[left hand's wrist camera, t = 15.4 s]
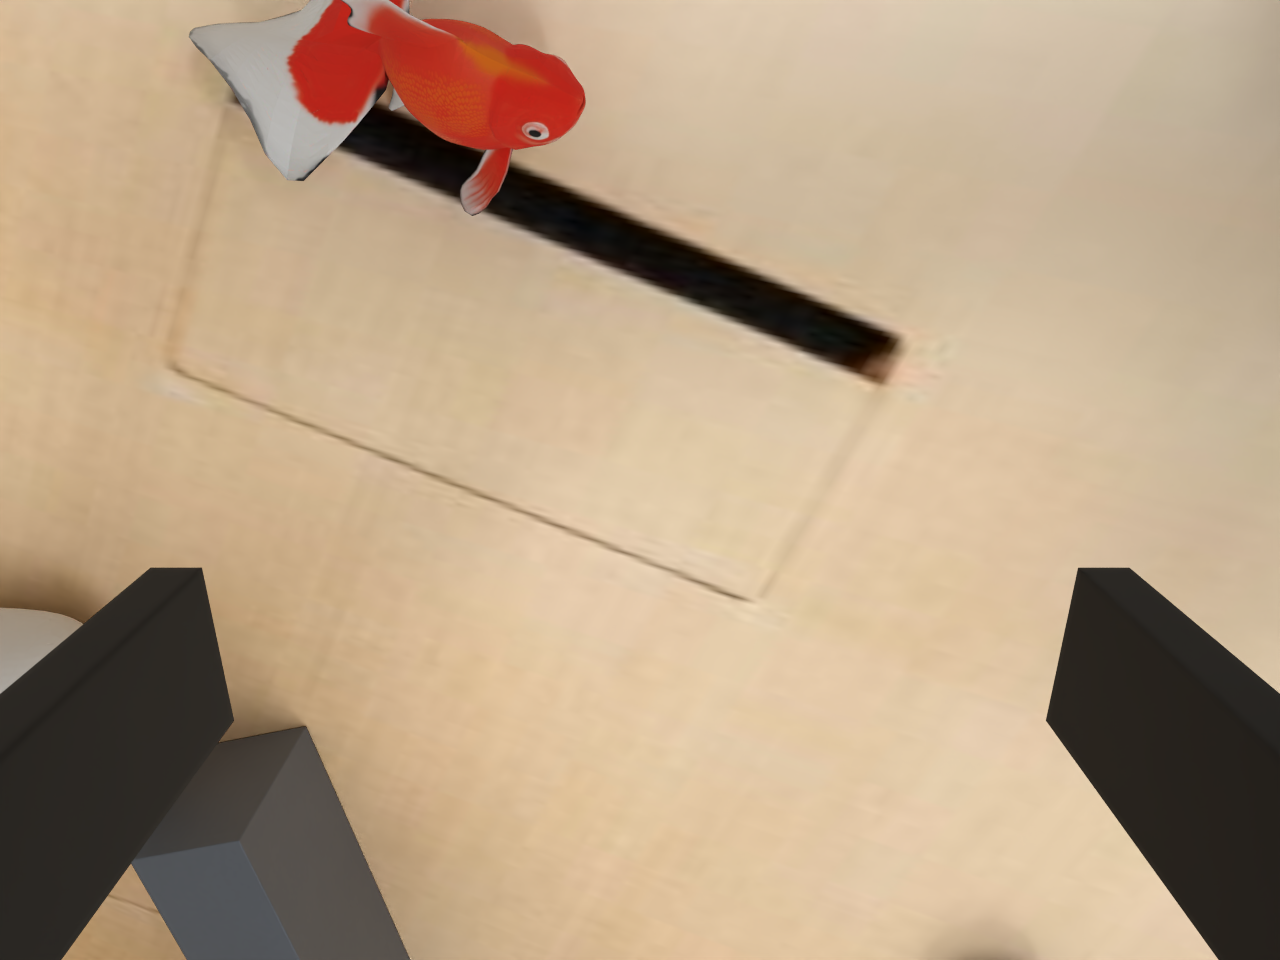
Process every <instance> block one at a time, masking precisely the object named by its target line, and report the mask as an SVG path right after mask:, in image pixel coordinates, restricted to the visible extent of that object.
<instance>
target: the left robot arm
mask: <svg viewBox="0 0 1280 960" xmlns="http://www.w3.org/2000/svg"><path fill="white" fill-rule="evenodd" d="M233 721H234V718H233V714H232V709H231V704H230V699H229V695H228V690H227V685H226V680H225V676H224V671H223V666H222V661H221V657H220V652H219V647H218V642H217V638H216V633H215V628H214V623H213V619H212V614H211V609H210V604H209V600H208V595H207V590H206V585H205V581H204V576H203V571H202V568H150V569H149V570H147V571H146V572H145V573H144V574H143V575H141V576H140V577H139V578H138V579H137V580H136V581H134V582H133V583H132V584H131V585H130V586H128V587H127V588H126V589H125V590H124V591H122V592H121V593H120V594H119V595H118V596H116V597H115V598H114V599H113V600H112V601H110V602H109V603H108V604H107V605H106V606H104V607H103V608H102V609H101V610H100V611H99V612H97V613H96V614H95V615H94V616H93V617H91V618H90V619H89V620H88V621H87V622H85V623H84V624H83V625H82V626H81V627H79V628H78V629H77V630H76V631H75V632H73V633H72V634H71V635H70V636H69V637H67V638H66V639H65V640H64V641H63V642H61V643H60V644H59V645H58V646H57V647H56V648H54V649H53V650H52V651H51V652H50V653H48V654H47V655H46V656H45V657H44V658H42V659H41V660H40V661H39V662H38V663H36V664H35V665H34V666H33V667H32V668H30V669H29V670H28V671H27V672H26V673H24V674H23V675H22V676H21V677H20V678H19V679H17V680H16V681H15V682H14V683H13V684H11V685H10V686H9V687H8V688H7V689H5V690H4V691H3V692H2V693H1V694H0V960H62V958H63V957H64V955H65V954H66V953H67V951H68V950H69V948H70V947H71V946H72V944H73V943H74V942H75V940H76V939H77V937H78V936H79V935H80V933H81V932H82V930H83V929H84V928H85V926H86V925H87V923H88V922H89V921H90V919H91V918H92V917H93V915H94V914H95V912H96V911H97V910H98V908H99V907H100V905H101V904H102V903H103V901H104V900H105V899H106V897H107V896H108V894H109V893H110V892H111V890H112V889H113V887H114V886H115V885H116V883H117V882H118V881H119V879H120V878H121V876H122V875H123V874H124V872H125V871H126V869H127V868H128V867H129V865H130V864H131V863H132V861H133V860H134V858H135V857H136V856H137V854H138V853H139V851H140V850H141V849H142V847H143V846H144V845H145V843H146V842H147V840H148V839H149V838H150V836H151V835H152V833H153V832H154V831H155V829H156V828H157V826H158V825H159V824H160V822H161V821H162V820H163V818H164V817H165V815H166V814H167V813H168V811H169V810H170V808H171V807H172V806H173V804H174V803H175V802H176V800H177V799H178V797H179V796H180V795H181V793H182V792H183V790H184V789H185V788H186V786H187V785H188V784H189V782H190V781H191V779H192V778H193V777H194V775H195V774H196V772H197V771H198V770H199V768H200V767H201V766H202V764H203V763H204V761H205V760H206V759H207V757H208V756H209V754H210V753H211V752H212V750H213V749H214V747H215V746H216V745H217V743H218V742H219V741H220V739H221V738H222V736H223V735H224V734H225V732H226V731H227V729H228V728H229V727H230V725H231V724H232V723H233ZM1046 721H1047V723H1048V724H1049V725H1050V727H1051V728H1052V729H1053V731H1054V732H1055V734H1056V735H1057V736H1058V738H1059V739H1060V741H1061V742H1062V743H1063V745H1064V746H1065V748H1066V749H1067V750H1068V752H1069V753H1070V754H1071V756H1072V757H1073V759H1074V760H1075V761H1076V763H1077V764H1078V766H1079V767H1080V768H1081V770H1082V771H1083V772H1084V774H1085V775H1086V777H1087V778H1088V779H1089V781H1090V782H1091V784H1092V785H1093V786H1094V788H1095V789H1096V790H1097V792H1098V793H1099V795H1100V796H1101V797H1102V799H1103V800H1104V802H1105V803H1106V804H1107V806H1108V807H1109V808H1110V810H1111V811H1112V813H1113V814H1114V815H1115V817H1116V818H1117V820H1118V821H1119V822H1120V824H1121V825H1122V826H1123V828H1124V829H1125V831H1126V832H1127V833H1128V835H1129V836H1130V838H1131V839H1132V840H1133V842H1134V843H1135V845H1136V846H1137V847H1138V849H1139V850H1140V851H1141V853H1142V854H1143V856H1144V857H1145V858H1146V860H1147V861H1148V863H1149V864H1150V865H1151V867H1152V868H1153V869H1154V871H1155V872H1156V874H1157V875H1158V876H1159V878H1160V879H1161V881H1162V882H1163V883H1164V885H1165V886H1166V887H1167V889H1168V890H1169V892H1170V893H1171V894H1172V896H1173V897H1174V899H1175V900H1176V901H1177V903H1178V904H1179V905H1180V907H1181V908H1182V910H1183V911H1184V912H1185V914H1186V915H1187V917H1188V918H1189V919H1190V921H1191V922H1192V923H1193V925H1194V926H1195V928H1196V929H1197V930H1198V932H1199V933H1200V935H1201V936H1202V937H1203V939H1204V940H1205V942H1206V943H1207V944H1208V946H1209V947H1210V948H1211V950H1212V951H1213V953H1214V954H1215V955H1216V957H1217V958H1218V960H1280V694H1279V693H1278V692H1277V691H1276V690H1275V689H1273V688H1272V687H1271V686H1270V685H1269V684H1267V683H1266V682H1265V681H1264V680H1263V679H1261V678H1260V677H1259V676H1258V675H1257V674H1256V673H1254V672H1253V671H1252V670H1251V669H1250V668H1248V667H1247V666H1246V665H1245V664H1244V663H1242V662H1241V661H1240V660H1239V659H1238V658H1236V657H1235V656H1234V655H1233V654H1232V653H1230V652H1229V651H1228V650H1227V649H1226V648H1224V647H1223V646H1222V645H1221V644H1220V643H1219V642H1217V641H1216V640H1215V639H1214V638H1213V637H1211V636H1210V635H1209V634H1208V633H1207V632H1205V631H1204V630H1203V629H1202V628H1201V627H1199V626H1198V625H1197V624H1196V623H1195V622H1193V621H1192V620H1191V619H1190V618H1189V617H1187V616H1186V615H1185V614H1184V613H1183V612H1181V611H1180V610H1179V609H1178V608H1177V607H1176V606H1174V605H1173V604H1172V603H1171V602H1170V601H1168V600H1167V599H1166V598H1165V597H1164V596H1162V595H1161V594H1160V593H1159V592H1158V591H1156V590H1155V589H1154V588H1153V587H1152V586H1150V585H1149V584H1148V583H1147V582H1146V581H1144V580H1143V579H1142V578H1141V577H1140V576H1139V575H1137V574H1136V573H1135V572H1134V571H1133V570H1131V569H1130V568H1078V571H1077V576H1076V581H1075V585H1074V590H1073V595H1072V600H1071V604H1070V609H1069V614H1068V619H1067V623H1066V628H1065V633H1064V638H1063V642H1062V647H1061V652H1060V657H1059V661H1058V666H1057V671H1056V676H1055V680H1054V685H1053V690H1052V695H1051V699H1050V704H1049V709H1048V714H1047V718H1046Z"/></svg>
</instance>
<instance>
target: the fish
mask: <svg viewBox="0 0 1280 960" xmlns="http://www.w3.org/2000/svg"><path fill="white" fill-rule="evenodd" d="M189 38H190V39H191V40H192V42H193V43H194V44H195V46H196V47H197V48H198V49H199V50H200V51H201V52H202V53H203V54H204V55H205V56H206V57H207V58H208V59H209V60H210V61H211V62H212V64H213V65H214V66H215V68H216V69H217V70H218V71H219V73H220V74H221V75H222V77H223V78H224V79H225V81H226V82H227V83H228V84H229V86H230V87H231V89H232V90H233V92H234V94H235V95H236V97H237V99H238V100H239V102H240V104H241V105H242V107H243V109H244V110H245V112H246V114H247V115H248V117H249V118H250V120H251V122H252V125H253V127H254V129H255V132H256V134H257V136H258V139H259V141H260V143H261V145H262V148H263V150H264V152H265V154H266V156H267V157H268V158H269V159H270V160H271V162H272V163H273V164H274V165H275V166H276V167H277V169H278V170H279V171H280V172H281V173H282V174H283V176H284V177H285V178H286V179H287V180H295V181H304V180H305V179H306V178H307V177H308V176H309V175H310V174H311V173H312V172H313V171H314V170H315V169H316V168H317V167H318V166H319V165H320V164H321V163H322V162H323V161H324V160H325V159H326V158H327V157H328V156H329V155H330V154H331V153H332V152H333V151H334V150H335V149H336V148H337V147H338V146H339V145H340V144H341V143H342V142H343V141H344V140H345V138H346V137H347V136H348V135H349V134H350V133H351V131H352V130H353V129H354V128H355V127H356V126H357V124H358V123H359V122H360V121H361V120H362V118H363V117H364V116H365V115H366V114H367V112H368V111H369V110H370V109H371V108H372V106H373V105H374V104H375V103H376V101H377V100H378V99H379V98H380V97H381V95H382V94H383V93H384V92H385V90H386V87H387V84H388V80H390V81H391V83H392V85H393V87H394V88H393V94H392V98H391V102H390V105H389V109H390V110H392V111H393V110H395V109H397V108H400V107H402V106H406V108H407V109H408V110H409V112H410V113H411V114H412V115H413V116H414V117H415V118H417V119H418V120H419V121H420V122H421V123H422V124H423V125H424V126H425V127H427V128H428V129H429V130H430V131H432V132H433V133H435V134H436V135H437V136H439V137H441V138H443V139H444V140H447V141H449V142H452V143H455V144H459V145H463V146H467V147H471V148H475V149H482V150H485V152H484V154H483V156H482V158H481V160H480V162H479V164H478V166H477V169H476V170H475V171H474V172H473V174H472V175H471V176H470V177H469V178H468V179H467V180H466V181H465V182H464V183H463V184H462V186H461V189H460V198H461V204H462V206H463V208H464V210H465V212H467V213H468V214H470V215H472V216H474V215H476V214H479V213H480V212H481V211H482V210H484V209H485V208H486V207H487V206H488V204H489V202H490V201H491V199H492V198H493V197H494V196H495V195H496V194H497V193H498V192H499V190H500V188H501V185H502V183H503V181H504V179H505V176H506V174H507V171H508V167H509V163H510V159H511V154H512V150H513V149H515V150H517V149H522V148H528V147H533V146H541V145H546V144H549V143H551V142H554V141H557V140H558V139H559V138H561V137H562V136H563V135H564V134H566V133H567V132H568V131H570V130H571V129H572V128H573V127H574V125H575V124H576V123H577V121H578V119H579V117H580V115H581V114H582V112H583V110H584V107H585V93H584V90H583V88H582V86H581V85H580V83H579V82H578V81H577V79H576V78H575V76H574V75H573V73H572V72H571V70H570V68H569V67H568V65H567V64H566V62H565V61H564V60H563V59H561V58H560V57H558V56H555V55H550V54H545V53H542V52H540V51H538V50H536V49H534V48H532V47H530V46H526V45H522V44H517V45H512V44H510V43H509V42H507V41H506V40H504V39H503V38H501V37H499V36H498V35H496V34H494V33H493V32H491V31H489V30H488V29H486V28H483V27H481V26H478V25H475V24H472V23H468V22H463V21H458V20H450V19H424V20H420V19H418V18H416V17H414V16H412V15H410V14H409V0H310V1H309V2H308V4H307V5H306V6H305V7H304V8H303V9H302V10H300V11H297V12H294V13H291V14H288V15H285V16H282V17H278V18H274V19H270V20H267V21H263V22H250V23H224V24H214V25H208V26H203V27H197V28H194V29H193V30H192V31H191V32H190V34H189Z"/></svg>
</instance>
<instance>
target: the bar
mask: <svg viewBox="0 0 1280 960" xmlns="http://www.w3.org/2000/svg"><path fill="white" fill-rule="evenodd" d="M131 864H132V866H133V868H134V869H135V871H136V873H137V874H138V876H139V878H140V880H141V881H142V883H143V885H144V887H145V888H146V890H147V892H148V893H149V895H150V897H151V899H152V900H153V902H154V904H155V906H156V907H157V909H158V911H159V913H160V914H161V916H162V918H163V919H164V921H165V923H166V925H167V926H168V928H169V930H170V932H171V933H172V935H173V937H174V938H175V940H176V942H177V944H178V945H179V947H180V949H181V951H182V952H183V954H184V956H185V957H186V959H187V960H410V959H409V957H408V954H407V952H406V950H405V948H404V945H403V943H402V941H401V939H400V936H399V934H398V932H397V930H396V927H395V925H394V923H393V921H392V918H391V916H390V914H389V912H388V909H387V907H386V905H385V903H384V900H383V898H382V896H381V894H380V891H379V889H378V887H377V885H376V882H375V880H374V878H373V876H372V873H371V871H370V869H369V867H368V864H367V862H366V860H365V858H364V856H363V853H362V851H361V849H360V847H359V844H358V842H357V840H356V838H355V835H354V833H353V831H352V829H351V826H350V824H349V822H348V820H347V817H346V815H345V813H344V811H343V808H342V806H341V804H340V802H339V799H338V797H337V795H336V793H335V790H334V788H333V786H332V784H331V781H330V779H329V777H328V775H327V772H326V770H325V768H324V766H323V763H322V761H321V759H320V757H319V755H318V752H317V750H316V748H315V746H314V743H313V741H312V739H311V737H310V734H309V732H308V730H307V728H306V727H300V728H295V729H289V730H284V731H279V732H274V733H268V734H263V735H258V736H253V737H248V738H242V739H237V740H232V741H227V742H221V743H217V745H216V746H215V747H214V749H213V750H212V752H211V753H210V754H209V756H208V757H207V759H206V760H205V761H204V763H203V764H202V766H201V767H200V768H199V770H198V771H197V772H196V774H195V775H194V777H193V778H192V779H191V781H190V782H189V784H188V785H187V786H186V788H185V789H184V790H183V792H182V793H181V795H180V796H179V797H178V799H177V800H176V802H175V803H174V804H173V806H172V807H171V808H170V810H169V811H168V813H167V814H166V815H165V817H164V818H163V820H162V821H161V822H160V824H159V825H158V826H157V828H156V829H155V831H154V832H153V833H152V835H151V836H150V838H149V839H148V840H147V842H146V843H145V845H144V846H143V847H142V849H141V850H140V851H139V853H138V854H137V856H136V857H135V858H134V860H133V861H132V863H131Z"/></svg>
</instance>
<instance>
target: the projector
mask: <svg viewBox="0 0 1280 960" xmlns="http://www.w3.org/2000/svg"><path fill="white" fill-rule="evenodd" d="M82 625H83V623H81V622H79V621H77V620H75V619H73V618H71V617H68V616H65V615H62V614H58V613H53V612H48V611H41V610H30V609H19V608H0V694H1V693H2V692H3V691H4V690H5V689H7V688H8V687H9V686H10V685H11V684H13V683H14V682H15V681H16V680H17V679H19V678H20V677H21V676H22V675H23V674H24V673H26V672H27V671H28V670H29V669H30V668H32V667H33V666H34V665H35V664H36V663H38V662H39V661H40V660H41V659H42V658H44V657H45V656H46V655H47V654H48V653H50V652H51V651H52V650H53V649H54V648H56V647H57V646H58V645H59V644H60V643H61V642H63V641H64V640H65V639H66V638H67V637H69V636H70V635H71V634H72V633H73V632H75V631H76V630H77V629H78V628H79V627H81V626H82Z"/></svg>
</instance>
